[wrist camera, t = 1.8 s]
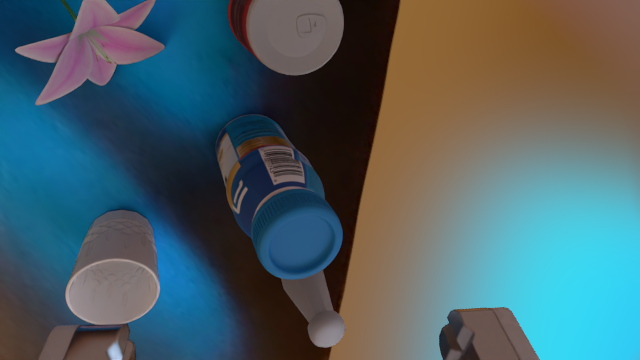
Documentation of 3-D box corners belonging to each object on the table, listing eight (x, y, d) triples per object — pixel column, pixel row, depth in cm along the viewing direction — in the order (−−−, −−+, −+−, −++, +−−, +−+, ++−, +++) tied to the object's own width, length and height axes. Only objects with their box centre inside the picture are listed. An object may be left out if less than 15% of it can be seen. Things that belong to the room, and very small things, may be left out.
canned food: (315, 30, 44) (357, 47, 35) (250, 66, 43) (275, 94, 34) (283, -45, 40) (322, -48, 30) (211, -5, 39) (228, 3, 30)
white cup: (92, 269, 47) (79, 335, 39) (72, 211, 43) (53, 270, 35) (164, 254, 49) (166, 313, 41) (151, 198, 46) (150, 250, 37)
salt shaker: (274, 257, 55) (303, 329, 44) (313, 244, 57) (351, 310, 46) (281, 288, 58) (310, 362, 47) (319, 275, 60) (355, 344, 49)
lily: (26, 86, 38) (60, 149, 34) (-49, -48, 29) (-16, 13, 25) (151, 50, 43) (194, 99, 39) (120, -73, 34) (172, -26, 30)
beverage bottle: (300, 141, 49) (375, 232, 32) (252, 192, 50) (301, 306, 33) (248, 95, 44) (304, 173, 28) (197, 151, 45) (221, 260, 28)
